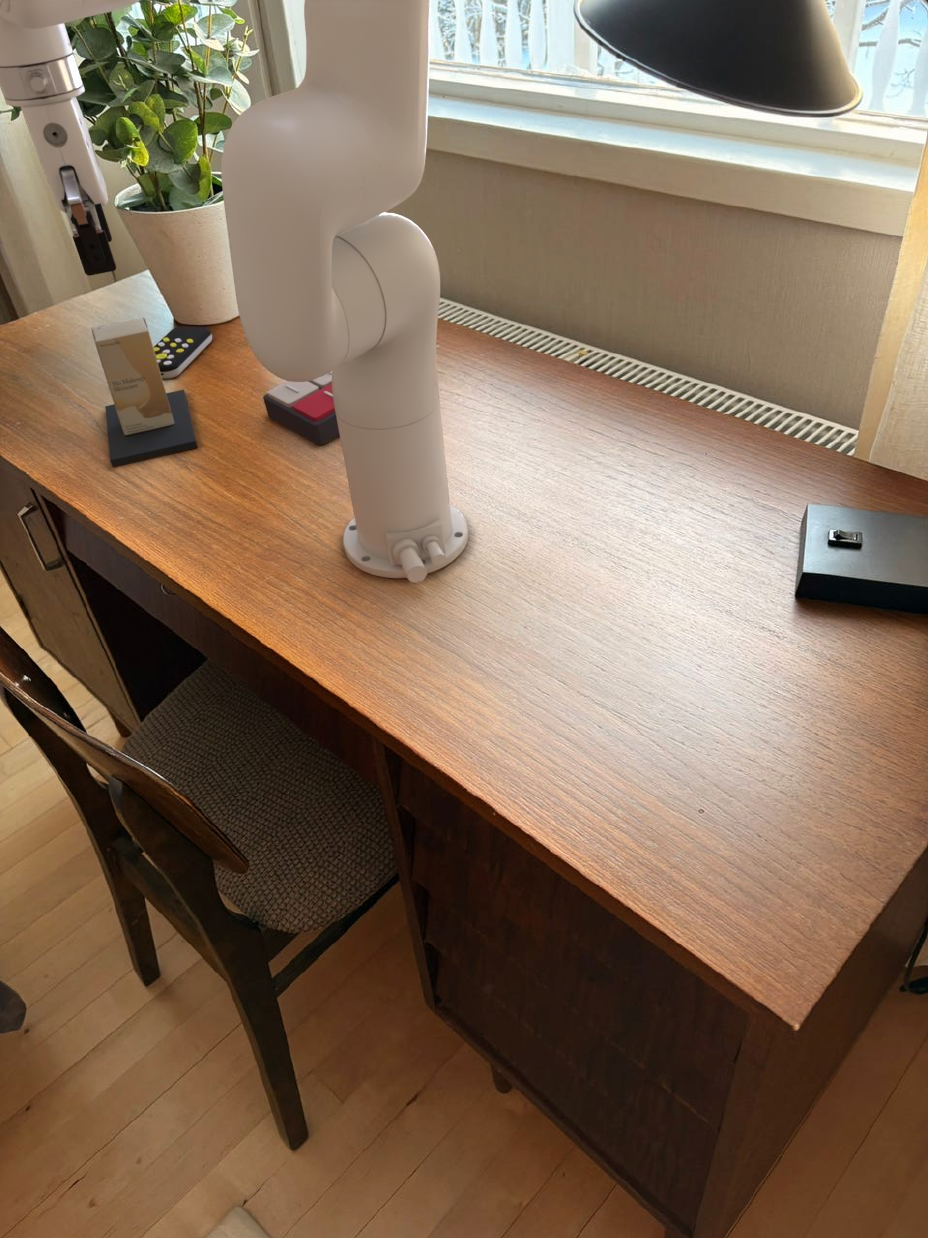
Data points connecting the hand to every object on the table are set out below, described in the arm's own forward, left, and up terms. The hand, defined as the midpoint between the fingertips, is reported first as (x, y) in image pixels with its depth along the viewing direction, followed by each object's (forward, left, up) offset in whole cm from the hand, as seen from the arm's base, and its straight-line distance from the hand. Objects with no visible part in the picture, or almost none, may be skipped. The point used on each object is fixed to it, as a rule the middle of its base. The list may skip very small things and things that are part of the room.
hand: (99, 257), depth 102 cm
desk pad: (0, +1, -21) cm, 21 cm away
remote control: (+19, -4, -22) cm, 29 cm away
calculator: (-5, -22, -22) cm, 31 cm away
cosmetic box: (0, +1, -21) cm, 20 cm away
